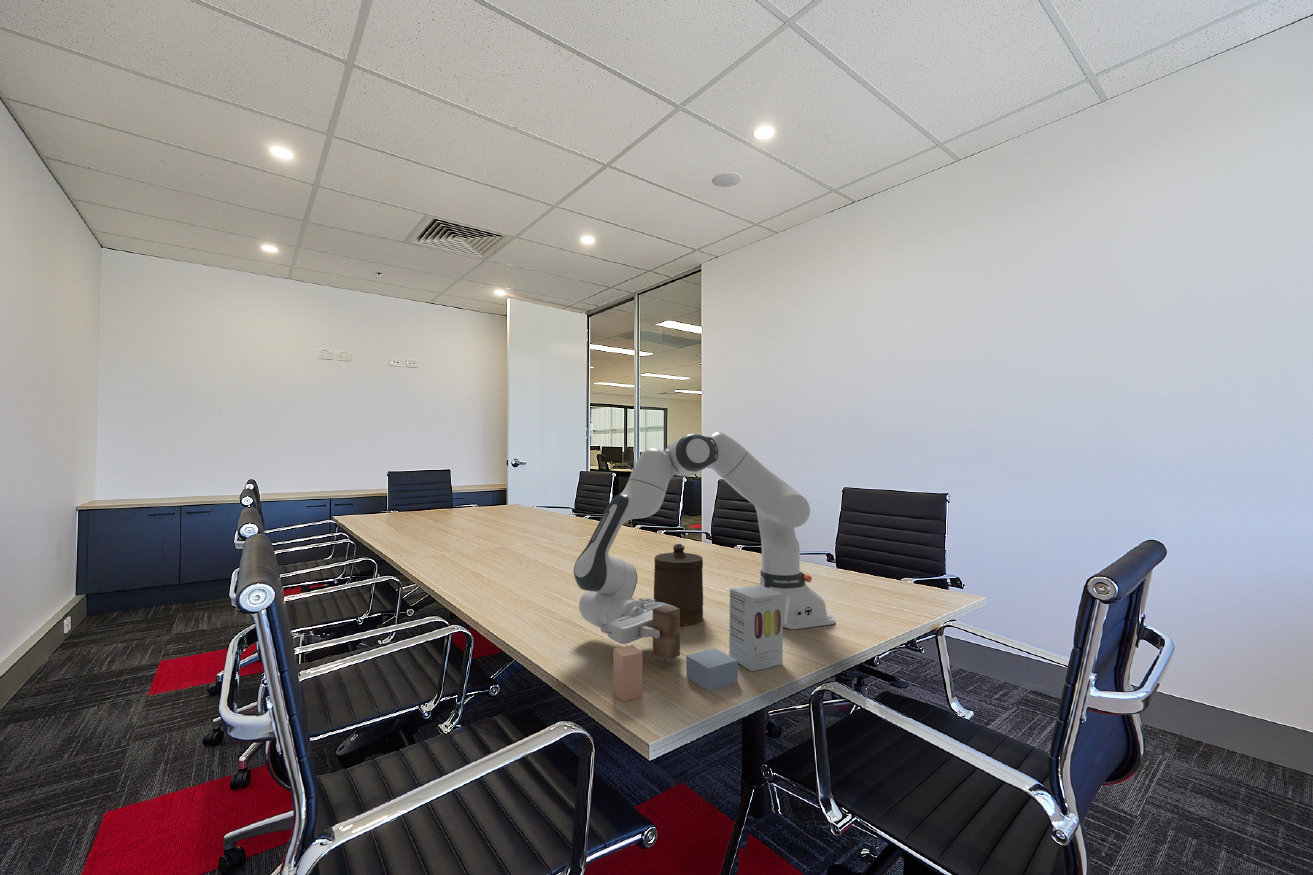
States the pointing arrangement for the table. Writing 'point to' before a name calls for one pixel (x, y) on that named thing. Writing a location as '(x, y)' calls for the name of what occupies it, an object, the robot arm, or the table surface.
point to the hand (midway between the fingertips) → (669, 630)
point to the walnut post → (667, 632)
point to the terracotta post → (627, 672)
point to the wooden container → (680, 583)
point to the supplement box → (756, 627)
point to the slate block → (712, 669)
